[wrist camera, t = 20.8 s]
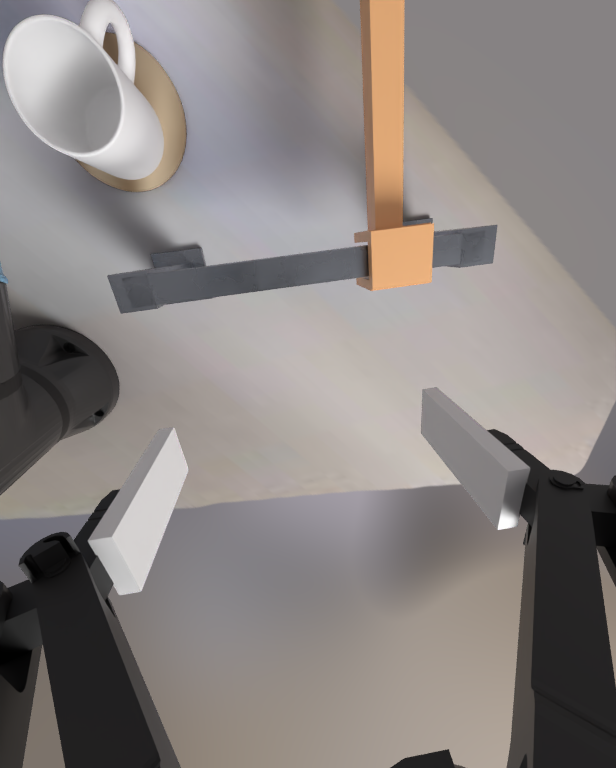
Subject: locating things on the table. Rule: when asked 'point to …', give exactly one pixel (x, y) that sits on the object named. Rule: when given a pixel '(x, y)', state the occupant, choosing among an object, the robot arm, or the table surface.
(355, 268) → the rail frame
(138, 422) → the table surface
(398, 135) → the orange bar
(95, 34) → the mug
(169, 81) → the coaster
